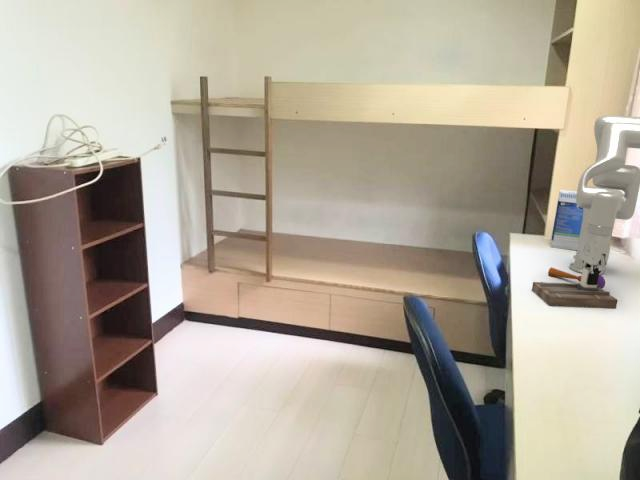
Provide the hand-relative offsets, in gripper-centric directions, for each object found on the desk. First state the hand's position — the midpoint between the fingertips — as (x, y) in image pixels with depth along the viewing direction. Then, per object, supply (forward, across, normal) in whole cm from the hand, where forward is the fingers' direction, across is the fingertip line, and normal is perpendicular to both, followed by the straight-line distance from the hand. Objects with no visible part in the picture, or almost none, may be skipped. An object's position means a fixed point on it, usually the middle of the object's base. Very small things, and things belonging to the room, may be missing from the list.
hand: (588, 282), depth 175 cm
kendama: (+7, -16, +4) cm, 18 cm away
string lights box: (+6, -64, +24) cm, 69 cm away
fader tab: (+3, 0, 0) cm, 3 cm away
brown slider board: (+6, 0, -4) cm, 8 cm away
